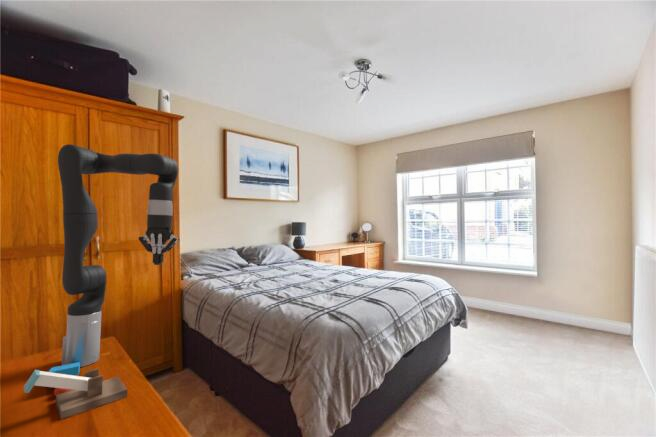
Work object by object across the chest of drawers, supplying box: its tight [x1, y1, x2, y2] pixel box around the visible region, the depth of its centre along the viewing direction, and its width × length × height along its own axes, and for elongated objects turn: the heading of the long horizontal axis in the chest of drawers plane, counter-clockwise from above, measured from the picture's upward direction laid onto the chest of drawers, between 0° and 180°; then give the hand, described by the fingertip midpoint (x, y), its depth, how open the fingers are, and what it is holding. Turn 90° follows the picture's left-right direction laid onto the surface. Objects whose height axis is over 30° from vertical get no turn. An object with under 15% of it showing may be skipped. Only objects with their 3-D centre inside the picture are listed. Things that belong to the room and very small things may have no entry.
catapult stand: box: [55, 368, 128, 420], centre depth 82 cm, size 14×10×7 cm
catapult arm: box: [23, 369, 90, 394], centre depth 78 cm, size 4×4×14 cm
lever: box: [48, 362, 81, 397], centre depth 90 cm, size 7×7×18 cm
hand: (157, 264), depth 101 cm, fingers closed
